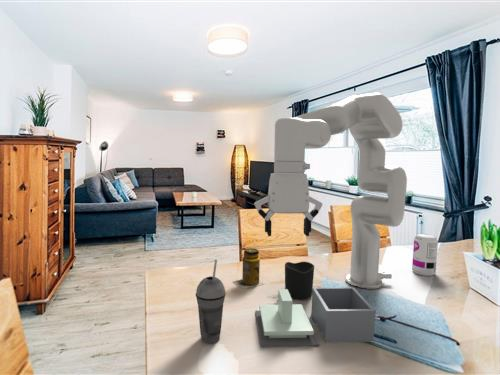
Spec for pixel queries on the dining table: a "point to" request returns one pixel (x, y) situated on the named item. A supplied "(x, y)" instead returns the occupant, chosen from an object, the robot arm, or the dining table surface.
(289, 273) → the pen holder
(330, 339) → the tub
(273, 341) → the dark grey flat plate
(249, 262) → the condiment
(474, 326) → the dining table surface
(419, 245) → the supplement can
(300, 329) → the green slab
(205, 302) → the beverage cup
